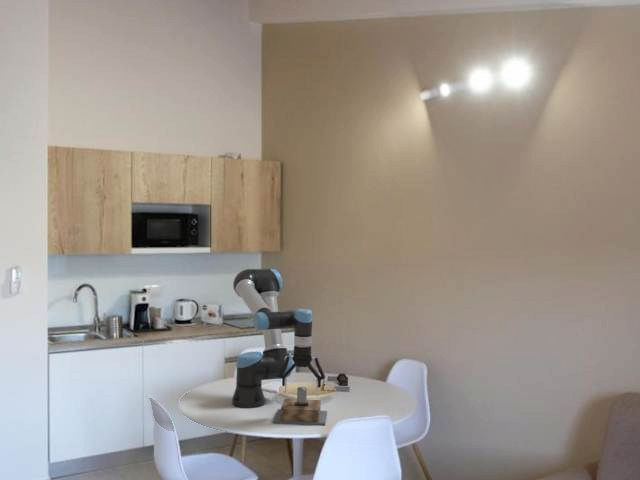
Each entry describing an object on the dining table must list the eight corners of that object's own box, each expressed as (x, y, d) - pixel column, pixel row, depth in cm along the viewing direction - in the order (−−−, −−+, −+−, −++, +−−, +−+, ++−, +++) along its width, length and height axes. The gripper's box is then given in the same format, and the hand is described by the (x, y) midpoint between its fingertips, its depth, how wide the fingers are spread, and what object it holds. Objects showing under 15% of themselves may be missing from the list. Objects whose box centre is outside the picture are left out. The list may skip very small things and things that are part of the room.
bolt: (342, 393, 343) (340, 385, 358) (351, 388, 343) (348, 380, 358) (337, 383, 343) (335, 375, 358) (346, 378, 343) (343, 371, 358)
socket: (273, 423, 284) (273, 409, 284) (278, 410, 302) (278, 397, 302) (325, 425, 283) (325, 411, 283) (327, 413, 301) (327, 399, 301)
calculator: (255, 390, 339) (255, 386, 339) (278, 382, 356) (279, 379, 356) (277, 394, 332) (277, 390, 332) (299, 386, 349) (299, 382, 349)
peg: (296, 416, 291) (297, 389, 290) (297, 414, 295) (297, 386, 294) (305, 417, 290) (306, 389, 290) (306, 414, 294) (307, 387, 294)
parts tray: (323, 390, 340) (323, 385, 340) (325, 380, 362) (325, 375, 362) (349, 391, 339) (349, 386, 339) (350, 381, 361) (350, 376, 361)
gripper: (272, 345, 288) (271, 395, 289) (331, 348, 287) (329, 397, 288) (275, 342, 296) (273, 390, 297) (331, 345, 295) (330, 393, 295)
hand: (301, 394), depth 292 cm, fingers open, 13 cm apart
